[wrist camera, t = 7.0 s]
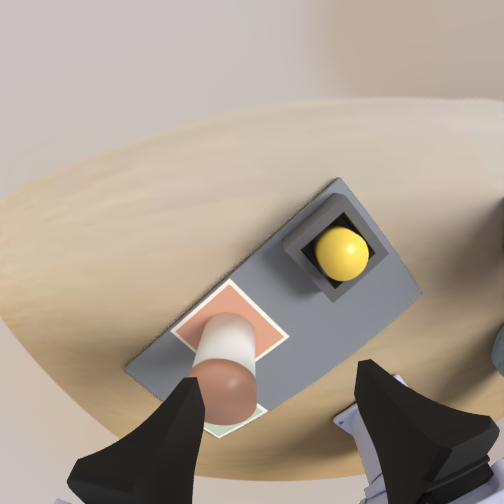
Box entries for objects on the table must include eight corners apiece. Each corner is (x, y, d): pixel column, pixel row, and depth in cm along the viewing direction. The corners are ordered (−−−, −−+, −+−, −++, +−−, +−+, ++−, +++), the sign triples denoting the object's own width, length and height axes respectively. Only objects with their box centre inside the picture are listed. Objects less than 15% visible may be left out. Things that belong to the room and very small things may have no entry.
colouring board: (419, 290, 22) (423, 293, 21) (218, 434, 26) (218, 439, 26) (338, 177, 20) (340, 177, 19) (126, 366, 24) (123, 370, 23)
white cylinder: (268, 335, 22) (272, 403, 15) (230, 365, 23) (222, 433, 16) (228, 300, 21) (216, 362, 14) (191, 333, 22) (168, 398, 15)
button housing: (375, 245, 20) (388, 253, 18) (325, 289, 21) (332, 303, 19) (334, 192, 19) (345, 195, 17) (280, 240, 20) (284, 249, 18)
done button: (362, 247, 19) (377, 258, 17) (330, 276, 20) (340, 290, 17) (337, 215, 19) (349, 221, 16) (303, 244, 19) (310, 255, 17)
